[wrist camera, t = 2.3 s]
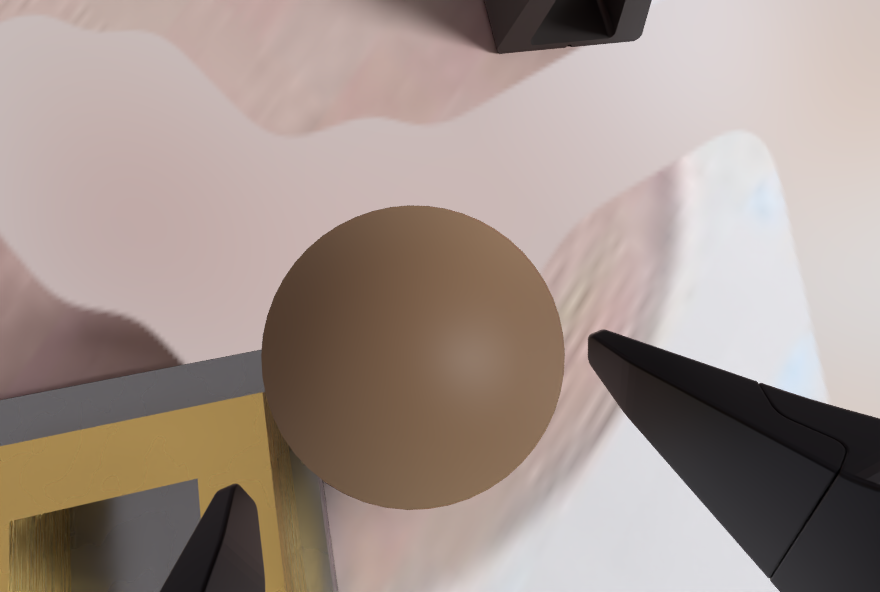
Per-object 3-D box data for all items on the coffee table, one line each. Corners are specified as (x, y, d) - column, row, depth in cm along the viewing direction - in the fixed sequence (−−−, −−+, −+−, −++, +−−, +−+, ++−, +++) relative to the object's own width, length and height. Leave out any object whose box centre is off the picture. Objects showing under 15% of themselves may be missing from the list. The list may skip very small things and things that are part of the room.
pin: (459, 411, 19) (600, 466, 5) (373, 431, 18) (281, 548, 5) (441, 327, 20) (523, 186, 6) (359, 344, 19) (245, 230, 6)
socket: (356, 721, 16) (343, 806, 13) (-16, 839, 14) (-139, 969, 11) (303, 344, 19) (282, 334, 16) (-7, 404, 17) (-101, 407, 14)
